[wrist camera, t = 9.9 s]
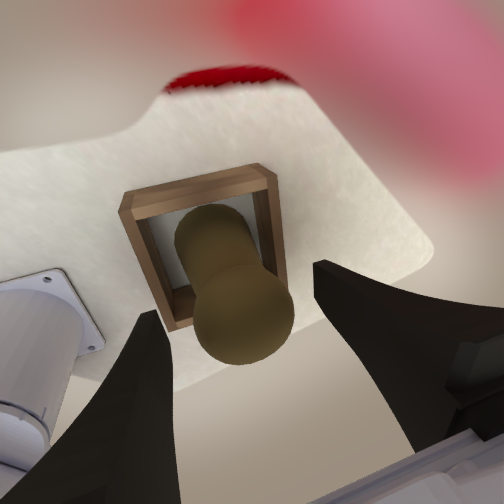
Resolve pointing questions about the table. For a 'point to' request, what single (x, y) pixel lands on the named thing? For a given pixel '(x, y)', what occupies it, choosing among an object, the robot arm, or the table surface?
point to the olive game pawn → (232, 287)
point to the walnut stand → (193, 194)
